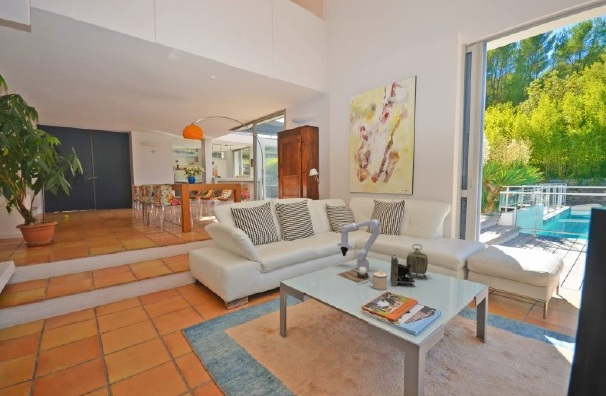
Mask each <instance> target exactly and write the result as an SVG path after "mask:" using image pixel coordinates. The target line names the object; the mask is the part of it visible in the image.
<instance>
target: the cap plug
mask: <svg viewBox="0 0 606 396" xmlns="http://www.w3.org/2000/svg"><path fill="white" fill-rule="evenodd" d="M358 272H359V274H360V275H366V273H367V271H366V267H359V270H358Z"/></svg>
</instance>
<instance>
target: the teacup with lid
mask: <svg viewBox="0 0 606 396" xmlns="http://www.w3.org/2000/svg"><path fill="white" fill-rule="evenodd" d="M369 276H370V277H369V279H368V282H369V283H370V284H372V285H373V286H372V287H373V288H374V289H375V290H382V291H383V290H386V289H387V277H388V275H387V273H385V272H383V271H382V270H380V269H379V270H378V271H376V272H374V273H373V274H372V275H369ZM371 277H372V278H371ZM370 278H371V279H372V280H371V279H370ZM370 280H371V281H370Z"/></svg>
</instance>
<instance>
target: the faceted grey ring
mask: <svg viewBox="0 0 606 396" xmlns="http://www.w3.org/2000/svg"><path fill="white" fill-rule="evenodd" d="M368 275H369V273H368V272H366V275H360V274H359V271H358V273H357V277H358V278H361V279H367V278H368Z"/></svg>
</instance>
